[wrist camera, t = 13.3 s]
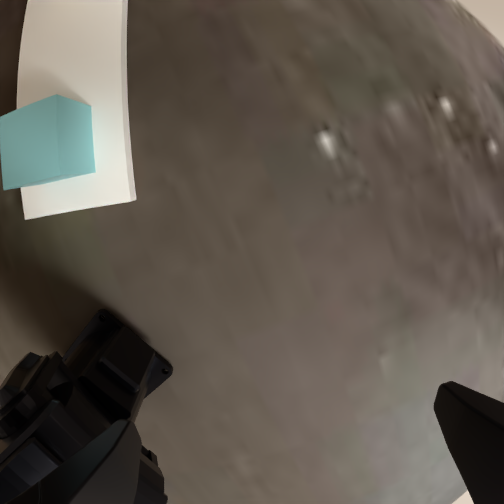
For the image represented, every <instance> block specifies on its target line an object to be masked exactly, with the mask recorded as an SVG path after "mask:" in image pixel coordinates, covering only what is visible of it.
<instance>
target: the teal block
mask: <svg viewBox="0 0 504 504" xmlns="http://www.w3.org/2000/svg"><path fill="white" fill-rule="evenodd" d="M0 152H1V168H2V179H3V189H4V190H9V189H15V188H21V187H28V186H35V185H42V184H46V183H50V182H55V181H59V180H63V179H67V178H72V177H76V176H81V175H86V174H91V173H95V172H96V169H95V159H94V146H93V132H92V112H91V106H89V105H86V104H84V103H81V102H78V101H75V100H72V99H69V98H66V97H63V96H60V95H57V94H56V95H53V96H50V97H47V98H45V99H42V100H39V101H37V102H34V103H32V104H29V105H27V106H24V107H22V108H19V109H17V110H15V111H12V112H10V113H8V114H5V115H3V116H1V117H0Z"/></svg>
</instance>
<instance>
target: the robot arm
mask: <svg viewBox="0 0 504 504" xmlns="http://www.w3.org/2000/svg"><path fill="white" fill-rule="evenodd" d="M101 315H103V316H105V318H106V319H103V318H102V317H101ZM62 359H63V361H62ZM163 369H167V370H168V371H164V370H163ZM172 372H173V367H172V366H171V365H170V364H169V363H168V362H167V361H165V360H164V359H163V358H162V357H160V356H159V355H158V354H157V353H156V352H155V351H154V350H153V349H152V348H151V347H149V346H148V345H147V344H146V343H145V342H144V341H142V340H141V339H140V338H139V337H138V336H137V335H135V334H134V333H133V332H132V331H131V330H130V329H128V328H127V327H125V326H124V325H123V324H122V323H121V322H119V321H118V320H117V319H116V318H115V317H114V316H113V315H112V314H111V313H110V312H109V311H107V310H105V309H101V310H99V311H98V312H97V313H96V315H95V316H94V317H93V318H92V320H91V321H90V322H89V324H88V325H87V326H86V327H85V329H84V330H83V331H82V332H81V334H80V335H79V336H78V338H77V339H76V340H75V342H74V343H73V344H72V346H71V347H70V348H69V350H68V351H67V352H66V354H65V355H64V356H63V358H62V357H61V356H60V354H59V353H58V352H57V351H55V352H53V353H52V354H50V355H49V356H48V355H46V356H44V357H43V356H39V355H36V354H34V353H32V352H30V353H28V354H27V355H26V356H25V357H24V358H23V359H22V360H21V361H20V362H19V363H18V364H17V365H16V366H15V367H14V368H13V369H12V370H11V371H10V372H9V374H8V375H7V377H6V378H5V380H4V381H3V383H2V385H1V386H0V504H167V500H168V497H167V495H166V494H164V477H163V474H162V472H161V470H160V468H159V467H158V462H157V456H156V455H155V454H154V453H153V452H152V451H150V450H147V449H146V448H145V447H144V446H142V442H141V438H140V436H139V433H138V431H137V429H136V426H135V424H134V422H135V420H136V417H137V415H138V412H139V409H140V407H141V404H142V402H143V399H144V398H145V397H147V396H148V395H149V394H150V393H151V392H153V391H154V390H155V389H156V388H157V387H158V386H160V385H161V384H162V383H163V382H164V381H165V380H166V379H168V378H169V377H170V376H171V375H172ZM434 411H435V414H436V417H437V419H438V422H439V425H440V427H441V430H442V433H443V436H444V438H445V441H446V444H447V446H448V449H449V451H450V453H451V455H452V457H453V459H454V461H455V463H456V465H457V468H458V470H459V472H460V474H461V476H462V478H463V480H464V482H465V485H466V487H467V489H468V491H469V493H470V496H471V498H472V500H473V502H474V504H504V403H503V402H500V401H498V400H496V399H493V398H491V397H488V396H486V395H484V394H481V393H479V392H477V391H474V390H472V389H470V388H467V387H465V386H463V385H460V384H458V383H456V382H453V381H449V382H446V383H443V384H441V385H440V386H439V388H438V392H437V395H436V399H435V402H434Z"/></svg>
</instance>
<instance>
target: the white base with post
mask: <svg viewBox="0 0 504 504" xmlns="http://www.w3.org/2000/svg"><path fill="white" fill-rule="evenodd" d="M127 8H128V0H28V2H27V7H26V13H25V19H24V25H23V31H22V39H21V47H20V56H19V67H18V82H17V109H19V108H22V107H24V106H27V105H29V104H32V103H34V102H37V101H39V100H42V99H45V98H47V97H50V96H53V95H56V94H57V95H60V96H63V97H66V98H69V99H72V100H75V101H78V102H81V103H84V104H86V105H89V106H91V112H92V132H93V146H94V159H95V169H96V172H95V173H91V174H86V175H81V176H76V177H72V178H67V179H63V180H59V181H55V182H50V183H46V184H42V185H35V186H28V187H21V194H22V202H23V209H24V216H25V220H28V219H32V218H38V217H43V216H48V215H53V214H59V213H64V212H70V211H75V210H81V209H87V208H93V207H99V206H105V205H112V204H118V203H125V202H131V201H134V200H136V192H135V184H134V174H133V165H132V154H131V143H130V129H129V114H128V93H127Z"/></svg>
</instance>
